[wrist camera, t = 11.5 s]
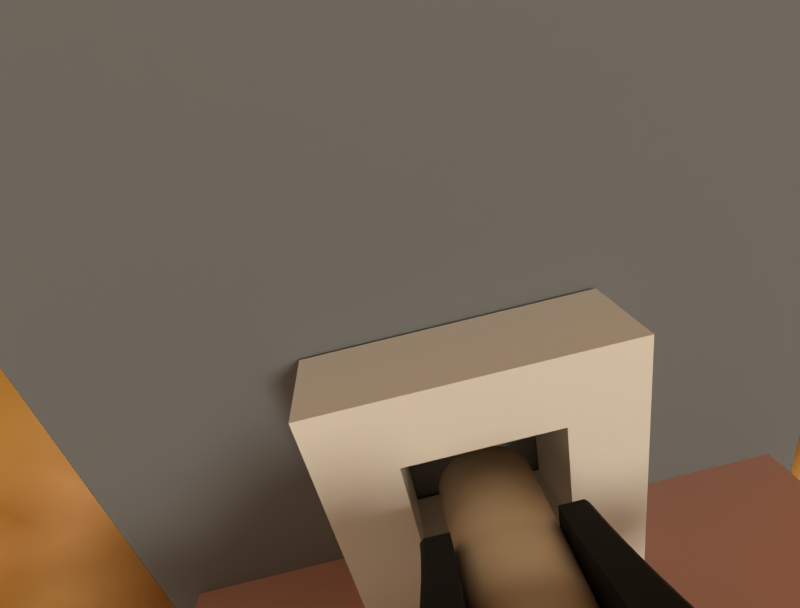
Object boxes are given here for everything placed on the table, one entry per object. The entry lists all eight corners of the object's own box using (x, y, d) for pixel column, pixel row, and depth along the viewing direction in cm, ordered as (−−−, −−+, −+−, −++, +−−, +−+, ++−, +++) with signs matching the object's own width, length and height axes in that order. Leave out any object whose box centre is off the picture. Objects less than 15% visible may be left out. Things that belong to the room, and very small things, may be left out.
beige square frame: (600, 497, 15) (644, 567, 13) (371, 554, 15) (376, 633, 13) (595, 288, 12) (654, 334, 10) (298, 360, 12) (288, 423, 10)
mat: (761, 528, 18) (774, 541, 18) (229, 659, 18) (225, 676, 18) (958, -395, 8) (1003, -430, 7) (-305, -103, 8) (-354, -117, 7)
